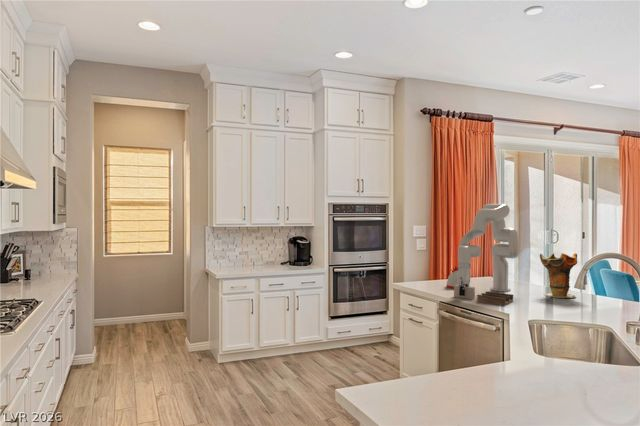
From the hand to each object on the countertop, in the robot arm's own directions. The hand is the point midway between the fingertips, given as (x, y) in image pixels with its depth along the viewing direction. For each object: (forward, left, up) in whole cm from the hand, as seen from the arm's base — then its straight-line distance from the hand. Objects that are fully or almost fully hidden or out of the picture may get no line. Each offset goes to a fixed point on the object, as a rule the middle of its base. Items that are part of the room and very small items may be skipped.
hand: (464, 294), depth 280 cm
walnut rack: (0, +19, -2) cm, 19 cm away
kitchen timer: (-32, -18, -2) cm, 37 cm away
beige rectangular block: (0, 0, -2) cm, 2 cm away
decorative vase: (-43, +44, -2) cm, 62 cm away
